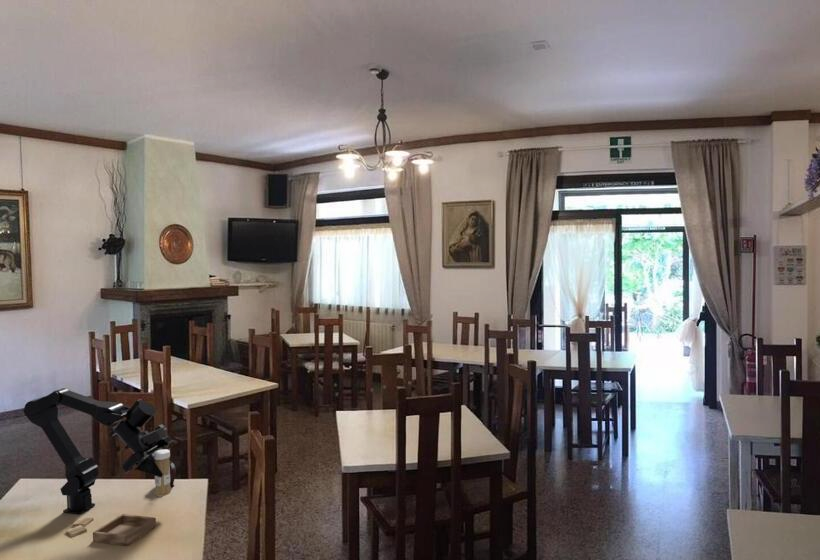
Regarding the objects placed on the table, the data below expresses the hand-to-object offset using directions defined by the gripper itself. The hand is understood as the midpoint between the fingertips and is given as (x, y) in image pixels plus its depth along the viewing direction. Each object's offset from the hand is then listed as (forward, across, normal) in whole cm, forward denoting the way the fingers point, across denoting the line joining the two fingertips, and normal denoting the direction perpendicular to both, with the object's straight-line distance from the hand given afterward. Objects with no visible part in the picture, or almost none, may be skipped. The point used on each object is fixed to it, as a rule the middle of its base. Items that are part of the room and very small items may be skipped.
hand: (166, 473), depth 174 cm
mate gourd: (+1, +19, +18) cm, 27 cm away
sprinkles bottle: (+4, 0, +6) cm, 7 cm away
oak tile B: (-5, -14, +24) cm, 28 cm away
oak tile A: (-6, -9, +26) cm, 28 cm away
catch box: (+6, -13, +13) cm, 19 cm away
